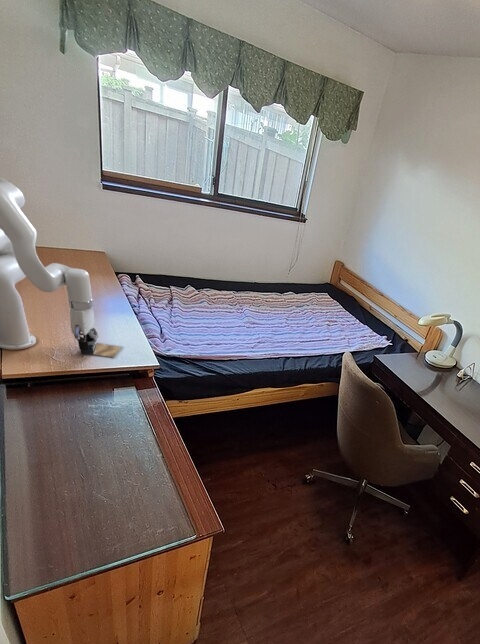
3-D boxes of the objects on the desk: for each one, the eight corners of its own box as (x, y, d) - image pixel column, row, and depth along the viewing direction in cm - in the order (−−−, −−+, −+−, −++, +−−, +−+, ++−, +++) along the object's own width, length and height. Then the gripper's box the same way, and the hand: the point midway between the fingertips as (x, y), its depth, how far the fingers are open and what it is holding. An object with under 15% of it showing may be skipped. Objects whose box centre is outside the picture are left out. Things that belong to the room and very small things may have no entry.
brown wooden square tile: (87, 354, 153) (87, 353, 153) (96, 343, 160) (96, 343, 160) (113, 357, 155) (113, 357, 154) (121, 347, 162) (121, 346, 162)
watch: (98, 354, 153) (95, 330, 147) (75, 353, 151) (71, 328, 144) (101, 347, 158) (98, 323, 151) (78, 346, 155) (74, 321, 148)
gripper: (80, 293, 148) (86, 335, 158) (58, 310, 134) (66, 354, 145) (101, 297, 150) (105, 338, 160) (81, 314, 136) (88, 358, 146)
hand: (87, 345), depth 152 cm, fingers closed on watch, 4 cm apart
